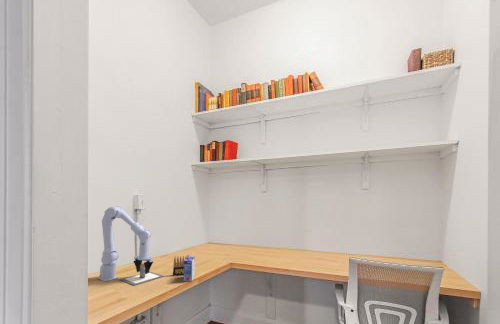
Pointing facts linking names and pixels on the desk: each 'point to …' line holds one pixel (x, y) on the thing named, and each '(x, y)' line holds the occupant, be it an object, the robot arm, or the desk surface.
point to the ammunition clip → (178, 266)
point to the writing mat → (137, 280)
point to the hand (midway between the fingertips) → (142, 272)
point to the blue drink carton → (189, 268)
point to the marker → (142, 271)
